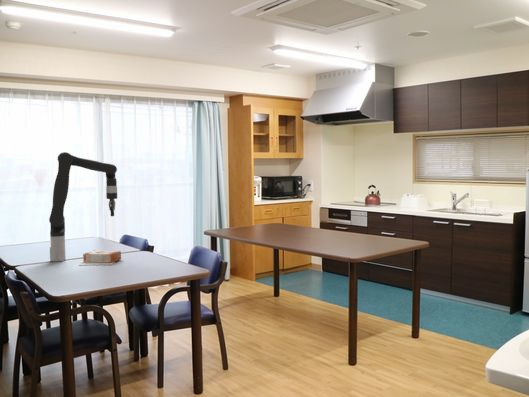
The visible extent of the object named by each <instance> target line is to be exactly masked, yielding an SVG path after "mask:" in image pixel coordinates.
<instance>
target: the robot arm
mask: <svg viewBox="0 0 529 397" xmlns="http://www.w3.org/2000/svg"><path fill="white" fill-rule="evenodd" d="M57 162H58V166H57V169H58V170H57V175H56V176H55V181H54V186H53V193H52V207H51V212H50V215H49V219H48V220H49V223H50V233H49V236H50V237H49V238H50V240H49V241H50V247H49V259H50V262H56V263H57V262H64V261H66V237H65V236H66V235H65V234H66V232H65V231H66V222H65V221H66V220H65V218H66V217H65V216H64V212H65V211H64V210H65V209H64V208H65V204H66V202H67V198H68V194H69V185H70V172H71V167H72V166H73V167H80V168H83V169H86V170H90V171H95V172H98V173H99V172H100V173H101V172H102V173H105V178H106V179H105V180H106V181H105V182H106V183H105V184H106V187H105V188H106V189H105V190H106V193H105V194H106V195H105V197H106V198H105V199H107V200H109V201H108V208H109V211H110V217H114V216H115V210H116V201H115V200H117V199H118V186H117V184H118V183H117V182H118V181H117V178H116V173H117V171H118V168H117V166H116V165H115V164H111V163H107V162H106V163H105V162H102V161H99V160H95V159H94V160H93V159H89V158H83V157H82V158H81V157H78V156H75V155H73V154H71V153H69V152H65V151H63V152H61V153H59V154H58V155H57Z"/></svg>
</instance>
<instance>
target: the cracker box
mask: <svg viewBox="0 0 529 397" xmlns="http://www.w3.org/2000/svg"><path fill="white" fill-rule="evenodd" d="M82 256H83V257H82V261H83V262H108V263H111V262H114V261H115V262H117V261H119V260H122V252H121V250H119V251H118V250H92V251H88V252H85V253H83V255H82ZM115 262H114V263H115Z"/></svg>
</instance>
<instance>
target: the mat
mask: <svg viewBox="0 0 529 397" xmlns="http://www.w3.org/2000/svg"><path fill="white" fill-rule="evenodd" d="M115 262H116V261H114V262H111V263H108V262H81V263H80V264H79V265H78V266H82V267H83V266H106V265H107V266H110V265H114V264H115Z"/></svg>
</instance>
